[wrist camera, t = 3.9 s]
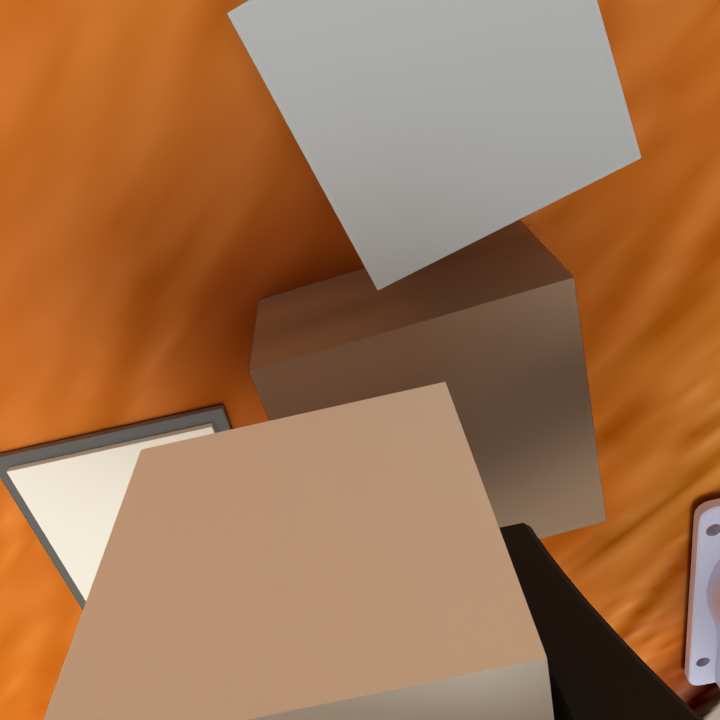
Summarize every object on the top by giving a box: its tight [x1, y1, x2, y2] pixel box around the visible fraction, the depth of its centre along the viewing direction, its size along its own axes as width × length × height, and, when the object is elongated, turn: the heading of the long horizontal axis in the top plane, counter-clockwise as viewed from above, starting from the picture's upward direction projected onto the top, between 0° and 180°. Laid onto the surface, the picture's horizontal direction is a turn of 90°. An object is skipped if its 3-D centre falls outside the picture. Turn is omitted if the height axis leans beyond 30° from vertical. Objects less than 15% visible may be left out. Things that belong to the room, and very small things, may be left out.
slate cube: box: [227, 0, 641, 290], centre depth 13 cm, size 5×5×5 cm
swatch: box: [0, 404, 232, 610], centre depth 20 cm, size 7×7×1 cm
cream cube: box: [43, 382, 554, 720], centre depth 10 cm, size 5×5×5 cm
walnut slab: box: [249, 221, 606, 539], centre depth 17 cm, size 7×7×4 cm
